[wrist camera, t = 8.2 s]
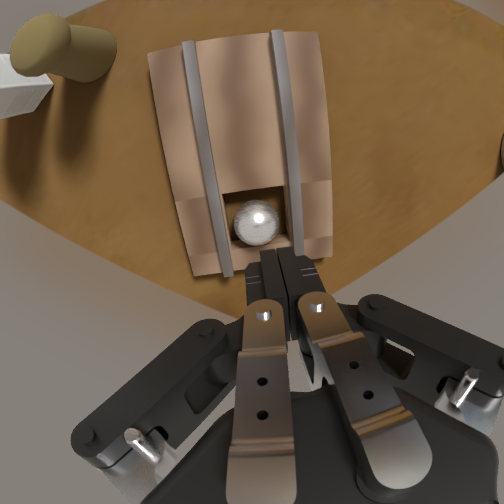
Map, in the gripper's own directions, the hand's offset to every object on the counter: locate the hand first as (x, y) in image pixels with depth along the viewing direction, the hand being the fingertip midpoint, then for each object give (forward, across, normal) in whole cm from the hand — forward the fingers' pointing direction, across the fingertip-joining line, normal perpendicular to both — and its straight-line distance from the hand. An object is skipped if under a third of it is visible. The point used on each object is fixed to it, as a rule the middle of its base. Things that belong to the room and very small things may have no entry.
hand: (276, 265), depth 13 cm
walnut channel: (+17, 0, -2) cm, 17 cm away
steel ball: (+15, 0, +4) cm, 15 cm away
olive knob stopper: (+17, +14, -16) cm, 27 cm away
